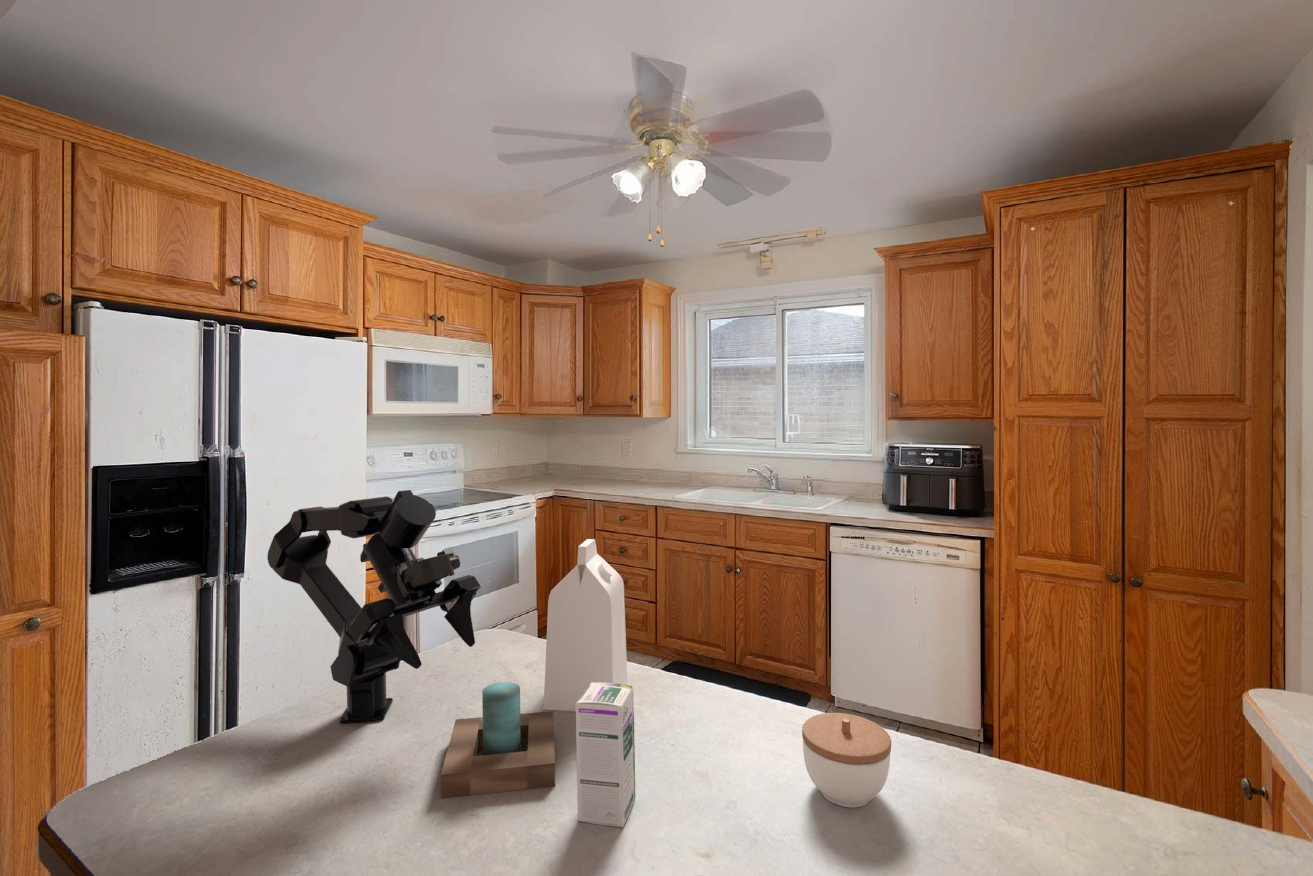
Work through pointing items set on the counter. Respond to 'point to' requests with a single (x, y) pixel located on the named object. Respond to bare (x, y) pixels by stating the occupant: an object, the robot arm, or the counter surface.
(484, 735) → the teal peg
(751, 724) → the counter surface
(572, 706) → the milk
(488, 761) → the walnut socket block
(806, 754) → the lidded jar
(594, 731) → the syrup box
